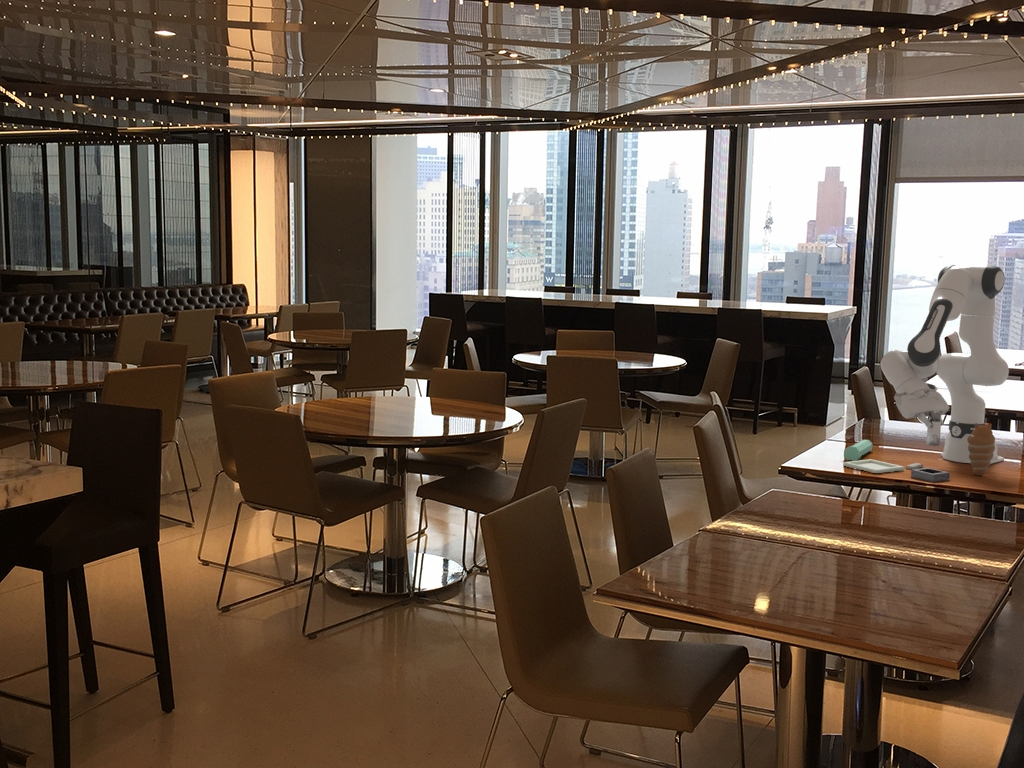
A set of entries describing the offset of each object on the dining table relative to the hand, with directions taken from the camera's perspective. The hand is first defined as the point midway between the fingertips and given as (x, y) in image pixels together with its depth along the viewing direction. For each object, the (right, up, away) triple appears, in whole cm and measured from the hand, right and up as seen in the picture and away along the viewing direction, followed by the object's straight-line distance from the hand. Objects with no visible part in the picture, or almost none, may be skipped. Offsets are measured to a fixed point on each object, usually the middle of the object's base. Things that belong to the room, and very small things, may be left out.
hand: (935, 425), depth 318 cm
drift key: (+1, -16, +20) cm, 26 cm away
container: (-11, -13, +40) cm, 44 cm away
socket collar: (-1, -18, +3) cm, 18 cm away
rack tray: (-15, -16, +17) cm, 27 cm away
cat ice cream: (+19, -18, +9) cm, 27 cm away
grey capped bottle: (0, -6, +1) cm, 7 cm away
